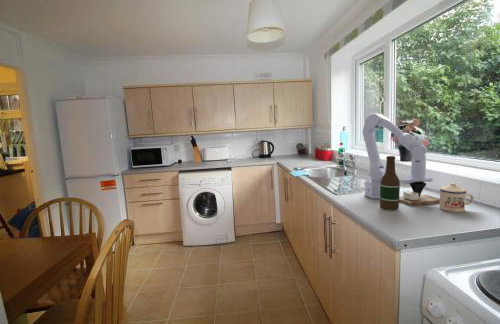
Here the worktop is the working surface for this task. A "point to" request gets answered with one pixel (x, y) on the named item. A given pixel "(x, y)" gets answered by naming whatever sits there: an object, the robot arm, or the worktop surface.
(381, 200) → the beer bottle
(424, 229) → the worktop surface
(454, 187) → the teacup with lid
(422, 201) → the console board
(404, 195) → the fader tab
